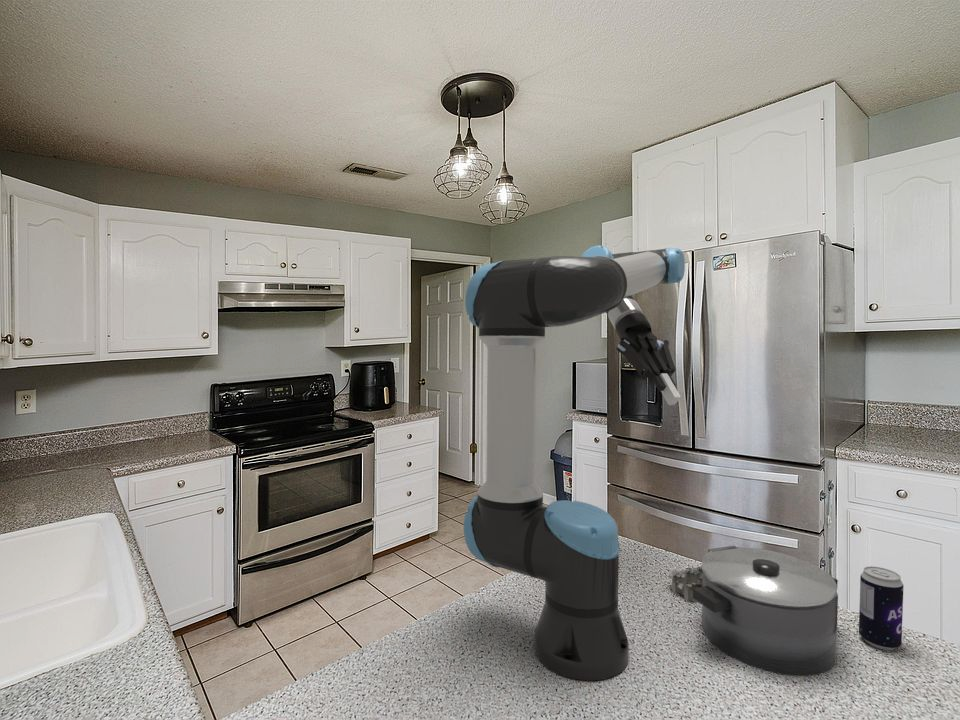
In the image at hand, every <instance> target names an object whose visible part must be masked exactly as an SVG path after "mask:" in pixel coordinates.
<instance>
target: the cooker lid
mask: <svg viewBox="0 0 960 720" xmlns="http://www.w3.org/2000/svg"><path fill="white" fill-rule="evenodd" d="M701 566H702V571H703V573H704V575H705V576H706V577H707V578H708V579H709V580H710V581H711V582H712V583H714V584H715V585H717V586H718V587H720V588H721V589H723V590H725V591H727V592H729V593H731V594H734V595H736V596H739V597H741V598H744V599H747V600H750V601H754V602H757V603H761V604H766V605H771V606H776V607H783V608H794V609H809V608H818V607H823V606H826V605H828V604H831V603H832V602H833V601H834V600H835V599H836V596H837V594H838V585H837V584H836V582H835V580H834V579H833V578H834V577H833V576H831V575H830V574H829V573H828V572H827V571H825V570H824V569H822V568H820V567H819V566H817V565H815V564H814V563H810V562H808V561H806V560H804V559H801V558H799V557H796V556H793V555H789V554H786V553H783V552H779V551H775V550H774V551H773V550H768V549H764V548H756V547H745V546H744V547H742V546H736V545H729V546H721V547H715V548H708V549H707V552H706V553H705V554H704V555H703V556H702V559H701ZM832 577H833V578H832Z"/></svg>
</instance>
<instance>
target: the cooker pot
mask: <svg viewBox="0 0 960 720" xmlns="http://www.w3.org/2000/svg"><path fill="white" fill-rule="evenodd" d="M831 577H832V578H833V579H834V580H835V582H836V584H837V586H838V582H839V581H838V579H837V578H835V577H833V576H831ZM838 595H839V594H838V593H837V596H836V599H835V600H834V601H833V602H832V603H831V604H828V605H826V606H823V607H818V608H809V609H794V608H783V607H776V606H771V605H766V604H761V603H757V602H754V601H750V600H747V599H744V598H741V597H739V596H736V595H734V594H731V593H729V592H727V591H725V590H723V589H721V588H720V587H718V586H717V585H715V584H714V583H712V582H711V581H710V580H709V579H708V578H707V577H706V576H705V575H704V573H703V586H702V587H698V588H693V598H694V599H695V600H697V601H698V602H697V603H699V604H701V629H702V631H703V633H704V636H706V638H707V639H708V641H710V643H711V644H712V645H714V646H715V647H716V648H717V649H719V650H720V651H721V652H723V653H724V654H726V655H727V656H730V657H731V658H732V659H735V660H737V661H739V662H741V663H744V664H746V665H748V666H751V667H754V668H756V669H760V670H763V671H766V672H769V673H770V672H771V673H774V674H775V673H776V674H782V675H788V676H813V675H819V674H822V673H825V672H827V671H829V670H830V669H831V668H832V667H834V666H835V663H837V662H836V661H837V649H838V648H837V642H838V639H837V638H838V637H837V636H838V611H839V610H838V608H839V607H838V606H839V604H838V603H839V596H838Z"/></svg>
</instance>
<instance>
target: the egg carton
mask: <svg viewBox="0 0 960 720" xmlns="http://www.w3.org/2000/svg"><path fill="white" fill-rule="evenodd" d="M667 578H668V579H671V591H672V592H673V593H674V594H682V595H683V598H684V600H686V601H687V602H689V601H692V602H695V603H699V602H698V601H697V600H695V599H694V598H693V588H698V587H702V586H703V571H702V565H699V566H698V567H693V568H691V567H688V568H687V569H681V570H679V571H678V570H672V571H670V572H669V574H668V575H667ZM688 584H689V585H688Z"/></svg>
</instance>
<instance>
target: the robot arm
mask: <svg viewBox="0 0 960 720" xmlns="http://www.w3.org/2000/svg"><path fill="white" fill-rule="evenodd" d="M685 261H686V260H685V256H684V253H683V251H682V250H681V249H680V248H678V247H676V248H667V247H665V248H660V249H651V250H642V251H632V252H631V251H629V252H620V253H612V252H611V251H610V249H609V248H608V247H606V246H603V245H594V246H592V247H590V248H588V249H586V250H585V251H584V252H583V253H582V255H581V256H572V255H566V256H565V255H554V256H552V255H551V256H546V257H536V258H535V257H534V258H521V259H508V260H501V261H497V262H493V263H488V264H484V265H482V266H481V267H479V268H478V269H477V270H476V272H475V273H474V274H473V275H472V276H471V277H470V279H469V281H468V285H467V288H466V291H465V299H464V301H465V303H464V304H465V305H464V306H465V311H466V314H467V315H468V320H469V322H470V323H471V324H472V325H473V326H474V327H476V328H478V338H479V340H481V342H482V343H483V344H484V345H485V346H486V348H487V351H486V352H487V353H486V354H487V359H486V361H487V362H486V365H487V368H486V369H487V370H486V372H487V373H486V374H487V375H486V377H487V378H486V459H485V460H486V465H485V466H486V467H485V468H486V471H485V474H486V477H485V478H486V479H485V482H484V483H483V484H482V485H481V486H480V487H479V488H478V489H477V495H476V496H474V497H473V498H472V499H471V501H470V502H469V504H468V506H467V507H466V508H467V512H466V513H465V514H464V519H463V536H464V541H465V544H466V547H467V548H468V551H469V552H470V553H471V554H472V556H473V557H474V558H476V559H477V560H479V561H481V562H484V563H487V564H488V565H489V566H492V567H494V568H501V569H504V570H507V571H511V572H515V573H517V574H521V575H524V576H527V577H530V578H534V579H537V580H540V581H543V582H544V585H545V587H544V588H545V600H544V603H543V607H542V610H541V613H540V615H539V619H538V622H537V625H536V628H535V630H534V652H535V655H536V657H537V659H538V660H539V661H540V662H541V663H542V664H543V666H545V667H547V668H548V669H549V670H550V671H552V672H555V673H557V674H559V675H561V676H564V677H566V678H569V679H574V680H581V681H601V680H606V679H609V678H612V677H614V676H615V677H616V676H617V675H619V674H620V673H621V672H622V671H624V670H625V669H626V667H627V665H628V663H629V656H630V655H629V653H630V650H629V649H630V645H629V639H628V636H627V633H626V630H625V626H624V623H623V620H622V617H621V613H620V611H619V568H620V566H619V564H620V562H619V561H620V559H619V558H620V549H621V548H620V541H619V530H618V529H619V528H618V524H617V522H616V520H615V519H614V518H613V517H612V515H611V514H610V513H609V512H607V511H606V510H604V509H602V508H600V507H598V506H595V505H593V504H590V503H587V502H583V501H579V500H578V501H577V500H573V501H571V500H563V499H562V500H555V501H553V502H551V503H549V504H548V505H547V506H544V493H543V489H541V488H540V487H539V486H538V484H537V483H536V482H535V481H536V480H535V477H536V476H535V474H536V471H535V470H536V469H535V467H536V465H535V464H536V462H535V461H536V403H537V402H536V397H537V396H536V395H537V392H536V391H537V389H536V386H537V385H536V384H537V383H536V382H537V377H536V375H537V348H538V346H539V345H540V344H541V343H542V342H543V341H544V340H545V338H546V328H553V327H554V328H555V327H564V326H565V327H566V326H569V325H573V324H577V323H581V322H584V321H587V320H589V319H592V318H595V317H597V316H599V315H602V314H605V313H606V316H607V317H608V319H609V321H610V323H611V325H612V327H613V329H614V330H615V333H616V334H617V337H618V338H619V340H620V341H619V342H618V345H617V346H616V351H617V352H619V353H620V354H622V355H623V356H624V358H625V359H626V360H627V361H628V362H629V364H630V365H631V366H632V367H633V369H635V370H636V372H637V373H638V374H639V375H640V377H641V378H642V379H644V380H646V379H647V378H648V383H649V384H654V385H655V387H656V389H657V391H659V392H661V394H662V396H663V398H664V400H665V402H666V403H667V405H668V406H675V405H676V404H677V403H678V401H679V400H680V399H682V398H681V395H680V393H679V391H678V390H677V384H676V383H675V381H674V379H673V377H672V376H673V375H674V373H675V372H676V370H677V369H676V366H675V364H674V363H675V362H674V361H673V357H672V354H671V351H670V348H669V345H670V342H669V340H668V339H664V340H663V341H661V340H659V339H658V337H657V336H656V335H655V334H654V333H653V332H652V325H651V323H650V321H649V320H648V319H647V317H646V315H645V314H644V312H643V310H642V309H641V307H640V305H639V303H638V302H637V300H636V299H635V297H634V296H633V295H635V294H637V293H640V292H643V291H645V290H648V289H650V288H653V287H655V286H657V285H670V284H677V283H681V281H682V280H683V278H684V276H685V271H686V270H685V269H686V266H685V265H686V264H685V263H686V262H685Z"/></svg>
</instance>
